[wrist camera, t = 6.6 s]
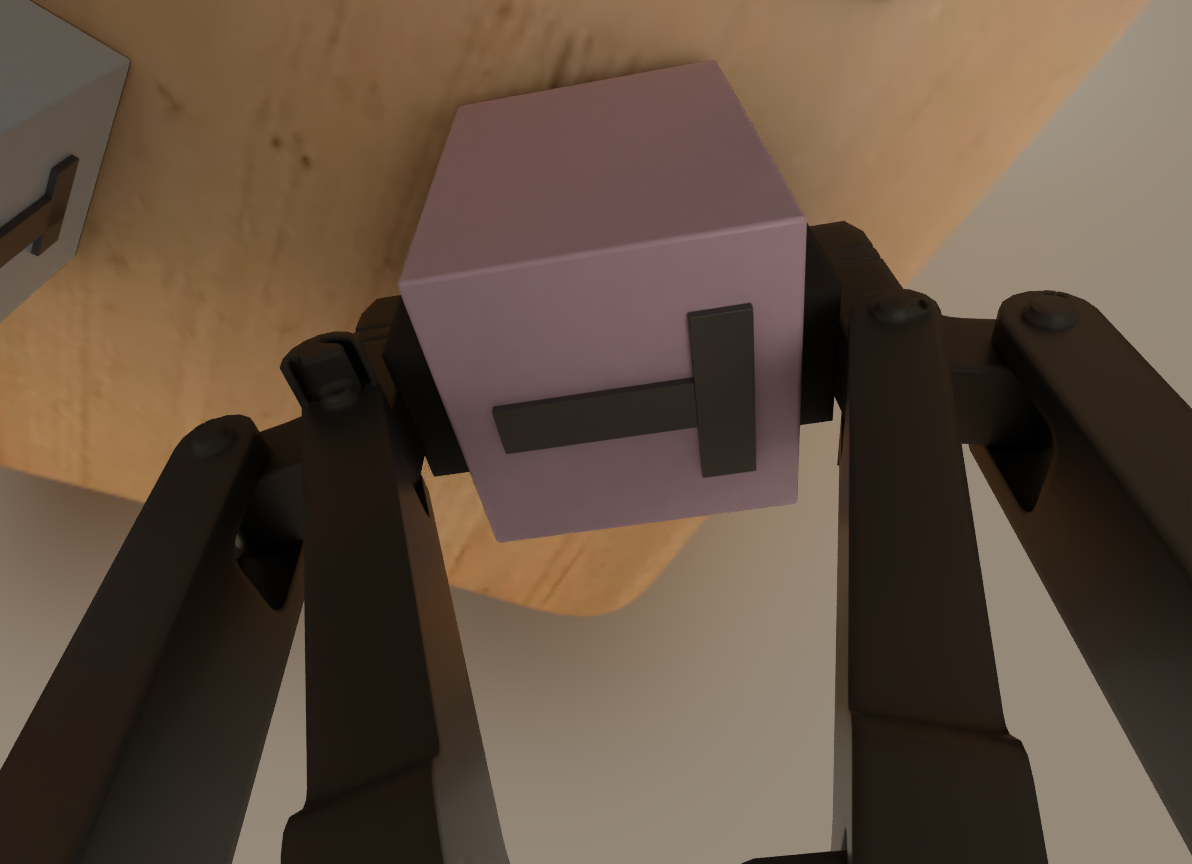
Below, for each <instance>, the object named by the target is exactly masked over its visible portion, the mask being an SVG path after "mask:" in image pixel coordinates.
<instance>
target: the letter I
mask: <svg viewBox="0 0 1192 864" xmlns="http://www.w3.org/2000/svg"><path fill="white" fill-rule="evenodd" d="M129 65H130V60H129V59H128V58H126V57H124V56H123V55H121V54H119V53H118V52H116V51H114V50H112V49H111V48H109V47H107V46H106V45H104V44H102V43H101V42H99V41H97V40H96V39H94V38H92V37H91V36H89V35H87V34H85V33H84V32H82V31H80V30H79V29H77V28H75V27H74V26H72V25H70V24H69V23H67V22H65V21H64V20H62V19H60V18H58V17H57V16H55V15H53V14H52V13H50V12H48V11H47V10H45V9H43V8H42V7H40V6H38V5H37V4H35V3H33V2H32V1H30V0H0V323H1V322H2V321H3V320H4V319H5V318H6V317H7V316H8V315H10V314H11V313H12V312H13V311H14V310H15V309H16V308H17V307H18V306H20V305H21V304H22V303H23V302H24V301H25V300H26V299H27V298H28V297H30V296H31V295H32V294H33V293H34V292H35V291H36V290H37V289H38V288H40V287H41V286H42V285H43V284H44V283H45V282H46V281H47V280H48V279H50V278H51V277H52V276H53V275H54V274H55V273H56V272H57V271H58V270H60V269H61V268H62V267H63V266H64V265H65V264H66V263H67V262H68V261H70V260H71V259H72V258H73V257H74V256H75V253H76V250H77V246H78V243H79V239H80V236H81V232H82V229H83V225H84V222H85V218H86V215H87V211H88V208H89V204H90V201H91V197H92V194H93V190H94V187H95V183H96V180H97V176H98V173H99V169H100V166H101V162H102V159H103V155H104V152H105V148H106V145H107V141H108V138H109V134H110V131H111V127H112V124H113V120H114V117H115V114H116V110H117V107H118V103H119V100H120V96H121V93H122V89H123V86H124V82H125V79H126V75H127V72H128V68H129Z"/></svg>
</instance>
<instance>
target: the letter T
mask: <svg viewBox="0 0 1192 864" xmlns="http://www.w3.org/2000/svg"><path fill="white" fill-rule="evenodd" d="M806 233H807V218H806V216H805V214H804V213H803V211H802V209H801V207H800V206H799V204H798V202H797V200H796V199H795V197H794V195H793V194H792V192H791V190H790V188H789V187H788V185H787V183H786V181H785V180H784V178H783V176H782V174H781V173H780V171H779V169H778V168H777V166H776V164H775V162H774V161H773V159H772V157H771V155H770V154H769V152H768V150H767V148H766V147H765V145H764V143H763V142H762V140H761V138H760V136H759V135H758V133H757V131H756V129H755V128H754V126H753V124H752V122H751V121H750V119H749V117H748V116H747V114H746V112H745V110H744V109H743V107H742V105H741V103H740V102H739V100H738V98H737V96H736V95H735V93H734V91H733V89H732V88H731V86H730V84H729V83H728V81H727V79H726V77H725V76H724V74H723V72H722V70H721V69H720V67H719V65H718V63H717V62H716V60H709V61H703V62H698V63H692V64H687V65H681V66H676V67H670V68H665V69H659V70H654V71H648V72H643V73H637V74H632V75H627V76H621V77H616V78H610V79H605V80H599V81H594V82H588V83H583V84H577V85H572V86H566V87H561V88H555V89H550V90H544V91H539V92H533V93H528V94H522V95H517V96H511V97H506V98H500V99H495V100H489V101H484V102H479V103H473V104H468V105H462V106H459V107H458V108H457V111H456V114H455V117H454V120H453V123H452V126H451V129H450V132H449V135H448V138H447V140H446V143H445V146H444V149H443V152H442V155H441V158H440V161H439V164H438V167H437V170H436V173H435V175H434V178H433V181H432V184H431V187H430V190H429V193H428V196H427V199H426V202H425V205H424V207H423V210H422V213H421V216H420V219H419V222H418V225H417V228H416V231H415V234H414V237H413V239H412V242H411V245H410V248H409V251H408V254H407V257H406V260H405V263H404V266H403V269H402V271H401V274H400V277H399V280H398V289H399V291H400V294H401V296H402V299H403V302H404V304H405V307H406V309H407V312H408V314H409V317H410V320H411V322H412V325H413V327H414V330H415V332H416V335H417V338H418V340H419V343H420V345H421V348H422V350H423V353H424V356H425V358H426V361H427V363H428V366H429V368H430V371H431V374H432V376H433V379H434V381H435V384H436V386H437V389H438V392H439V394H440V397H441V399H442V402H443V404H444V407H445V410H446V412H447V415H448V417H449V420H450V422H451V425H452V428H453V430H454V433H455V435H456V438H457V440H458V443H459V446H460V448H461V451H462V453H463V456H464V458H465V461H466V464H467V466H468V469H469V471H470V474H471V476H472V479H473V482H474V484H475V487H476V489H477V492H478V494H479V497H480V500H481V502H482V505H483V507H484V510H485V512H486V515H487V518H488V520H489V523H490V525H491V528H492V530H493V533H494V536H495V538H496V540H497V542H500V543H501V542H509V541H516V540H524V539H532V538H539V537H547V536H554V535H562V534H570V533H577V532H585V531H592V530H600V529H607V528H615V527H623V526H630V525H638V524H645V523H653V522H661V521H668V520H676V519H683V518H691V517H698V516H706V515H714V514H721V513H729V512H736V511H744V510H751V509H759V508H767V507H774V506H782V505H789V504H794V503H796V502H797V493H798V465H799V463H798V462H799V436H800V407H801V378H802V349H803V320H804V291H805V262H806Z"/></svg>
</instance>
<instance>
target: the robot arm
mask: <svg viewBox="0 0 1192 864" xmlns="http://www.w3.org/2000/svg"><path fill="white" fill-rule="evenodd" d="M280 369H281V371H282V373H283V375H284V377H285V378H286V380H287V382H288V384H289V386H290V387H291V389H292V391H293V393H294V395H295V396H296V398H297V400H298V402H299V404H300V405H301V407H302V416H301V417H299V418H296V419H294V420H292V421H290V422H287V423H284V424H281V425H278V426H276V427H273V428H270V429H267V430H264V431H262V432H259V430H258V429H257V427H256V425H255V424H254V422H253V421H252V420H251V418H249V417H246V416H243V415H226V416H223V417H219V418H216V419H211V420H209V421H206V422H205V423H202V424H201V425H199V426H197V427H196V428H195V429H194V430H192V431H191V432H190V433H189V434H187V435H186V436H185V437H183V439H182V440H181V441H180V442H179V444H178V445H177V446H176V448H175V449H174V451H173V453H172V455H171V457H170V458H169V460H168V462H167V464H166V466H165V468H164V469H163V471H162V473H161V475H160V477H159V479H158V480H157V482H156V484H155V486H154V488H153V490H152V492H151V493H150V495H149V497H148V499H147V501H146V503H145V504H144V506H143V508H142V510H141V512H140V514H139V515H138V517H137V519H136V521H135V523H134V525H133V527H132V528H131V530H130V532H129V534H128V536H127V538H126V539H125V541H124V543H123V545H122V547H121V549H120V551H119V553H118V554H117V556H116V558H115V560H114V562H113V563H112V565H111V568H110V569H109V571H108V573H107V574H106V576H105V578H104V580H103V582H102V584H101V586H100V587H99V589H98V591H97V593H96V595H95V597H94V598H93V600H92V602H91V604H90V606H89V608H88V609H87V612H86V613H85V615H84V617H83V619H82V621H81V622H80V624H79V626H78V628H77V630H76V632H75V633H74V635H73V637H72V639H71V641H70V643H69V645H68V646H67V648H66V650H65V652H64V654H63V656H62V658H61V659H60V661H59V663H58V665H57V667H56V668H55V670H54V672H53V674H52V676H51V678H50V680H49V681H48V683H47V685H46V687H45V689H44V691H43V692H42V694H41V696H40V698H39V700H38V702H37V703H36V705H35V707H34V709H33V711H32V713H31V714H30V716H29V718H28V720H27V722H26V724H25V726H24V728H23V729H22V731H21V733H20V735H19V737H18V738H17V740H16V742H15V744H14V746H13V748H12V750H11V751H10V753H9V755H8V757H7V759H6V761H5V762H4V764H3V766H2V768H1V770H0V864H232V861H233V857H234V853H235V850H236V846H237V842H238V838H239V835H240V831H241V828H242V824H243V821H244V817H245V813H246V809H247V806H248V802H249V799H250V795H251V791H252V788H253V784H254V780H255V777H256V773H257V769H258V766H259V762H260V759H261V755H262V751H263V748H264V744H265V740H266V737H267V733H268V729H269V726H270V722H271V718H272V715H273V711H274V707H275V704H276V700H277V697H278V693H279V689H280V686H281V682H282V678H283V675H284V670H285V667H286V664H287V660H288V656H289V653H290V649H291V645H292V642H293V638H294V635H295V631H296V627H297V624H298V620H299V616H300V612H301V609H302V605H303V602H305V674H306V739H307V740H306V744H307V745H306V746H307V796H306V802H305V805H304V808H303V809H302V810H300V811H299V812H297V813H295V814H294V815H292V816H291V817H289V819H288V822H287V824H286V827H285V830H284V832H283V840H282V850H281V864H510V862H509V859H508V856H507V852H506V849H505V845H504V841H503V836H502V832H501V827H500V823H499V818H498V813H497V809H496V804H495V799H494V795H493V790H492V785H491V780H490V776H489V771H488V767H487V762H486V757H485V752H484V748H483V743H482V738H481V734H480V729H479V724H478V720H477V715H476V710H475V706H474V701H473V696H472V692H471V687H470V682H469V677H468V673H467V669H466V664H465V659H464V654H463V650H462V645H461V640H460V636H459V631H458V626H457V621H456V617H455V612H454V608H453V602H452V598H451V593H450V589H449V584H448V579H447V574H446V570H445V565H444V560H443V556H442V551H441V546H440V542H439V537H438V532H437V528H436V523H435V518H434V513H433V509H432V504H431V499H430V495H429V491H428V488H427V486H426V484H425V482H424V479H423V477H422V475H421V470H422V465H423V461H424V456H425V457H426V459H427V461H428V464H429V466H430V468H431V471H432V473H433V475H434V477H435V476H443V475H450V474H457V473H464V472H470V471H469V469H468V466H467V464H466V461H465V458H464V456H463V453H462V451H461V448H460V446H459V443H458V440H457V438H456V435H455V433H454V430H453V428H452V425H451V422H450V420H449V417H448V415H447V412H446V410H445V407H444V404H443V402H442V399H441V397H440V394H439V392H438V389H437V386H436V384H435V381H434V379H433V376H432V374H431V371H430V368H429V366H428V363H427V361H426V358H425V356H424V353H423V350H422V348H421V345H420V343H419V340H418V338H417V335H416V332H415V330H414V327H413V325H412V322H411V320H410V317H409V314H408V312H407V309H406V307H405V304H404V302H403V299H402V296H401V295H397V296H391V297H385V298H379V299H376V300H375V301H374V302H373V303H372V304H371V305H370V306H369V307H368V308H367V309H366V310H365V311H364V312H363V313H362V315H361V317H360V320H359V322H358V325H357V327H356V332H354V334H352V333H350V332H330V333H326V334H321V335H318V336H315V337H313V338H310V339H308V340H306V341H304V342H302V343H301V344H299V345H298V346H296V347H294V348H293V349H292V350H291V351H290V352H289V353H288V354H287V355H286V356H285V357H284V358H283V360H282V363H281V365H280ZM834 396H835V398H836V400H837V402H838V405H839V407H840V409H841V411H842V414H841V426H840V439H839V451H838V464H837V465H839V513H838V568H837V569H838V570H837V622H836V623H837V624H836V625H837V626H836V677H835V731H834V787H833V790H834V791H833V824H832V825H833V826H832V842H831V851H830V852H820V853H808V854H798V855H787V856H777V857H766V858H755V859H752V860H749V861H747V862H744V863H742V864H1048V859H1047V854H1046V848H1045V842H1044V836H1043V831H1042V825H1041V819H1040V813H1039V808H1038V802H1037V796H1036V791H1035V785H1034V779H1033V775H1032V771H1031V767H1030V763H1029V758H1028V755H1027V753H1026V751H1025V749H1024V746H1023V744H1022V742H1021V741H1020V740H1018V739H1016V738H1015V737H1013V736H1012V735H1010V734H1009V732H1008V729H1007V727H1006V724H1005V719H1004V715H1003V709H1002V703H1001V696H1000V690H999V683H998V677H997V670H996V664H995V657H994V651H993V645H992V638H991V632H990V626H989V619H988V612H987V606H986V599H985V593H984V586H983V581H982V574H981V567H980V561H979V555H978V548H977V541H976V535H975V528H974V522H973V515H972V509H971V503H970V496H969V490H968V483H967V477H966V471H965V464H964V457H963V451H962V444H969V448H970V451H971V453H972V455H973V456H974V458H975V460H976V462H977V463H978V466H979V467H980V469H981V471H982V473H983V474H984V477H985V478H986V480H987V482H988V484H989V486H990V487H991V489H992V491H993V493H994V495H995V497H996V498H997V500H998V502H999V504H1000V506H1001V508H1002V509H1003V511H1004V513H1005V515H1006V517H1007V518H1008V520H1009V522H1010V524H1011V526H1012V528H1013V529H1014V531H1015V533H1016V535H1017V537H1018V539H1019V540H1020V542H1021V544H1022V546H1023V548H1024V549H1025V551H1026V553H1027V555H1028V557H1029V559H1030V561H1031V562H1032V564H1033V566H1034V568H1035V570H1036V571H1037V573H1038V575H1039V577H1040V579H1041V581H1042V582H1043V584H1044V586H1045V588H1046V590H1047V591H1048V593H1049V595H1050V597H1051V599H1052V601H1053V603H1054V604H1055V606H1056V608H1057V610H1058V612H1059V614H1060V615H1061V617H1062V619H1063V621H1064V623H1065V624H1066V626H1067V628H1068V630H1069V631H1070V634H1071V635H1072V637H1073V639H1074V641H1075V643H1076V645H1077V646H1078V648H1079V650H1080V652H1081V653H1082V655H1083V657H1084V659H1085V661H1086V663H1087V665H1088V666H1089V668H1090V670H1091V672H1092V674H1093V676H1094V677H1095V679H1096V681H1097V683H1098V685H1099V686H1100V688H1101V690H1102V692H1103V694H1104V696H1105V697H1106V699H1107V701H1108V703H1109V705H1110V707H1111V708H1112V710H1113V712H1114V714H1115V716H1116V717H1117V719H1118V721H1119V723H1120V725H1121V727H1122V728H1123V730H1124V732H1125V734H1126V736H1127V738H1128V740H1129V741H1130V743H1131V745H1132V747H1133V749H1134V750H1135V752H1136V754H1137V756H1138V758H1139V760H1140V761H1141V763H1142V765H1143V767H1144V769H1145V771H1146V772H1147V774H1148V776H1149V778H1150V780H1151V781H1152V783H1153V785H1154V787H1155V789H1156V791H1157V792H1158V794H1159V796H1160V798H1161V800H1162V802H1163V803H1164V805H1165V807H1166V809H1167V810H1168V812H1169V814H1170V816H1171V818H1172V819H1173V822H1174V824H1175V825H1176V827H1177V829H1178V831H1179V833H1180V834H1181V836H1182V838H1183V840H1184V842H1185V844H1186V845H1187V847H1188V849H1189V851H1190V853H1191V855H1192V408H1190V406H1189V405H1188V404H1187V403H1186V402H1185V401H1184V400H1183V399H1182V398H1181V397H1180V396H1179V395H1178V394H1177V393H1176V392H1175V391H1174V389H1173V388H1171V386H1170V385H1169V384H1168V383H1167V382H1166V381H1165V380H1164V379H1163V378H1162V377H1161V376H1160V375H1159V374H1158V373H1157V371H1156V370H1155V369H1154V368H1153V367H1152V366H1151V365H1150V364H1149V363H1148V362H1147V361H1146V360H1145V359H1144V358H1143V357H1142V356H1141V354H1139V352H1138V351H1137V350H1136V349H1135V348H1134V347H1133V346H1132V345H1131V344H1130V343H1129V342H1128V341H1127V340H1126V339H1125V338H1124V337H1123V336H1122V334H1121V333H1120V332H1119V331H1118V330H1117V329H1116V328H1115V327H1114V326H1113V325H1112V324H1111V323H1110V322H1109V321H1108V320H1107V319H1106V317H1105V316H1104V315H1103V314H1102V313H1101V312H1100V311H1099V310H1098V309H1097V308H1095V307H1094V306H1093V305H1091V304H1090V303H1089V302H1087V301H1086V300H1084V299H1081V298H1078V297H1076V296H1072V295H1070V294H1067V293H1063V292H1059V291H1058V292H1055V291H1048V290H1045V291H1028V292H1024V293H1020V294H1016V295H1013V296H1011V297H1010V298H1008V299H1006V300H1005V301H1003V302H1002V304H1001V306H1000V308H999V310H998V314H997V319H971V318H969V319H968V318H955V317H948V316H943V315H941V310H940V308H939V306H938V304H937V303H936V301H934V300H933V299H931V298H930V297H928V296H927V295H925V294H923V293H919V292H916V291H913V290H910V289H903V288H902V286H901V285H900V284H899V282H898V281H897V279H896V278H895V276H894V275H893V273H892V272H891V271H890V269H889V268H888V266H887V265H886V263H885V262H884V261H883V259H880V255H879V253H878V252H877V250H876V249H875V248H873V245H872V243H871V242H870V240H869V239H868V238H867V236H866V235H865V233H864V232H863V231H862V230H860V229H858V228H856V227H854V226H852V225H850V224H849V223H847V222H845V221H840V222H834V223H828V224H822V225H816V226H810V227H809V225H808V223H807V233H806V262H805V291H804V320H803V349H802V378H801V407H800V425H804V424H811V423H818V422H825V421H832V420H833V407H834ZM961 443H962V444H961Z"/></svg>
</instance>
